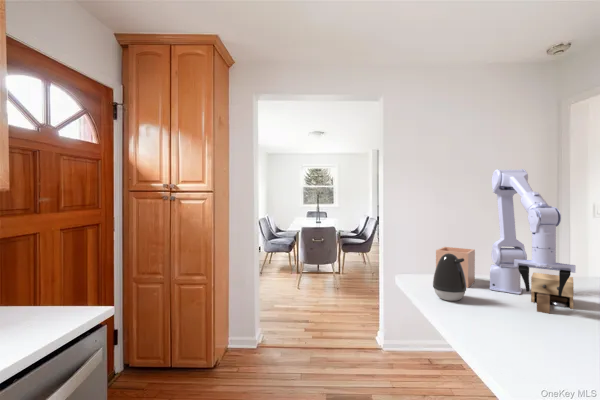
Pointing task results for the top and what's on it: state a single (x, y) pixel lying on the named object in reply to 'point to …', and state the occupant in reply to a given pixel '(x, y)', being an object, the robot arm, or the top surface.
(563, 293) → the bread box
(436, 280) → the black rounded egg shape
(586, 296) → the top surface
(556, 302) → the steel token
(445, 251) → the utensil crock
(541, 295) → the wooden mallet
